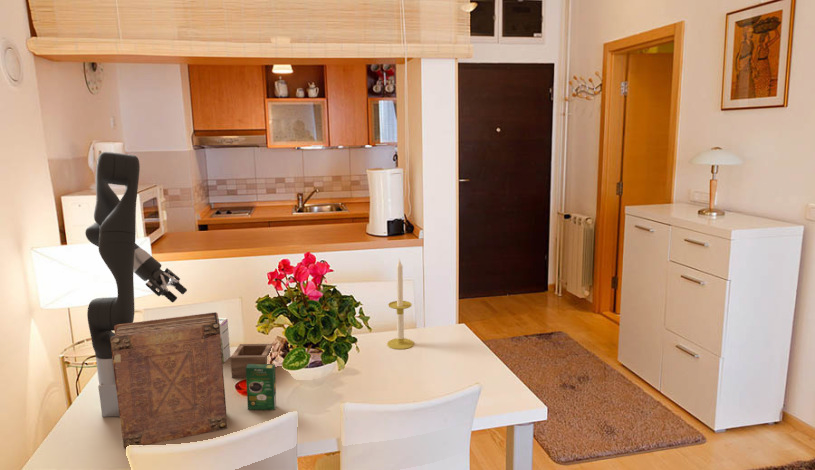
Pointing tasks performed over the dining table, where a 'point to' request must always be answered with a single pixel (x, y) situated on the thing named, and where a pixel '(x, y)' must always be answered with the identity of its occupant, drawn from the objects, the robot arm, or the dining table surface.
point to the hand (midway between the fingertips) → (180, 296)
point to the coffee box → (261, 386)
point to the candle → (400, 314)
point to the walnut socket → (248, 357)
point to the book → (169, 378)
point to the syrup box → (224, 339)
